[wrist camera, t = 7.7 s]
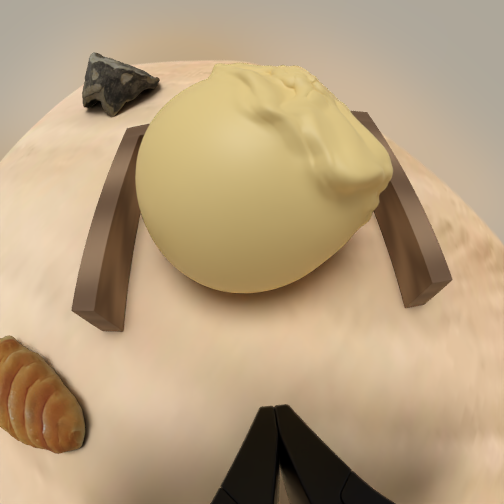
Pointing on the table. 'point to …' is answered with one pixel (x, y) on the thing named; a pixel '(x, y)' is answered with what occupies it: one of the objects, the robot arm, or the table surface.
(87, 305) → the frame
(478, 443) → the table surface
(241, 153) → the sculpture
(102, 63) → the fossil
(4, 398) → the pastry
